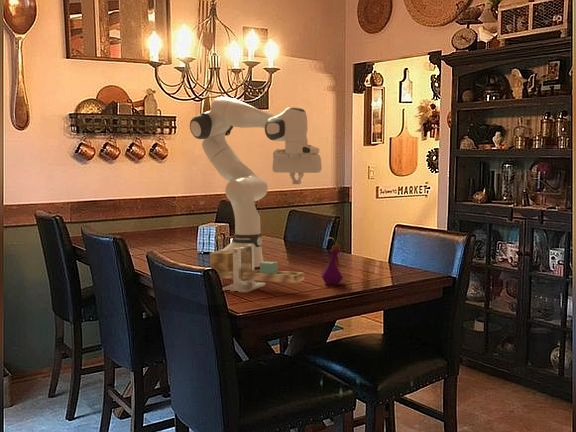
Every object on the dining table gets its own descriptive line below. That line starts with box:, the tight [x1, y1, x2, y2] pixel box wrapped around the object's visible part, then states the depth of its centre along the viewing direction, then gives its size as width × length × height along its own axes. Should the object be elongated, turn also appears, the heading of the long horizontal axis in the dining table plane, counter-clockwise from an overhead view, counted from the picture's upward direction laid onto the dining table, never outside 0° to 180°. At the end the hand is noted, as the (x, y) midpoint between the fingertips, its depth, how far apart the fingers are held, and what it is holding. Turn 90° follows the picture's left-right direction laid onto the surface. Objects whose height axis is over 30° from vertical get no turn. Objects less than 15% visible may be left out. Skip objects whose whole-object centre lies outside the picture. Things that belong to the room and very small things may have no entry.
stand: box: [222, 245, 266, 294], centre depth 244 cm, size 10×14×15 cm
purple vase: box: [320, 236, 343, 287], centre depth 248 cm, size 8×8×18 cm
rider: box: [259, 261, 279, 274], centre depth 239 cm, size 5×4×5 cm
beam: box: [209, 250, 305, 284], centre depth 241 cm, size 36×6×10 cm, turn 62°
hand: (296, 184), depth 259 cm, fingers closed
